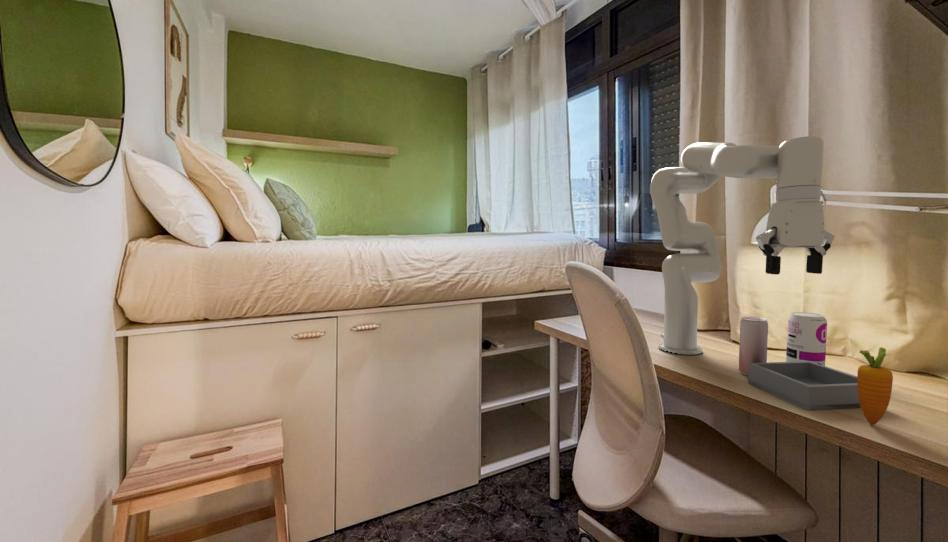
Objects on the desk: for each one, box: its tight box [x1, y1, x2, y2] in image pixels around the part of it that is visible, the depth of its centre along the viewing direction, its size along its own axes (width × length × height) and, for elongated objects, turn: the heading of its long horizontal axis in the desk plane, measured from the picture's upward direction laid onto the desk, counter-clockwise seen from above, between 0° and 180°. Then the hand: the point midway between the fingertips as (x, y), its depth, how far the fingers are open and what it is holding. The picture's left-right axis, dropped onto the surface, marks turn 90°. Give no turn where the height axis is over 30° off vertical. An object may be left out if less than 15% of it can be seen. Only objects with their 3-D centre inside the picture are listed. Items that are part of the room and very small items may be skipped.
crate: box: [747, 361, 861, 411], centre depth 88 cm, size 16×16×5 cm
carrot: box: [856, 346, 894, 426], centre depth 73 cm, size 5×5×15 cm
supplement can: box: [785, 311, 828, 366], centre depth 106 cm, size 8×8×15 cm
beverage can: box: [738, 316, 769, 377], centre depth 102 cm, size 6×6×15 cm
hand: (793, 273), depth 86 cm, fingers open, 9 cm apart
